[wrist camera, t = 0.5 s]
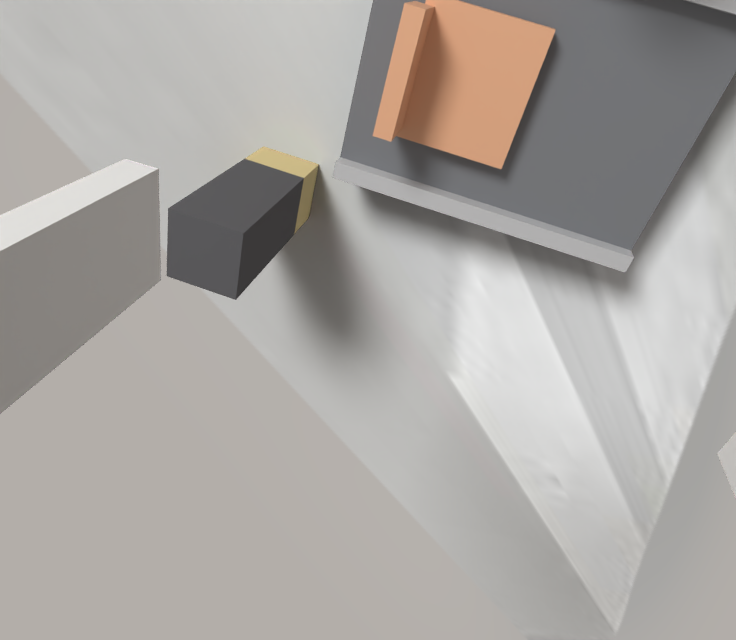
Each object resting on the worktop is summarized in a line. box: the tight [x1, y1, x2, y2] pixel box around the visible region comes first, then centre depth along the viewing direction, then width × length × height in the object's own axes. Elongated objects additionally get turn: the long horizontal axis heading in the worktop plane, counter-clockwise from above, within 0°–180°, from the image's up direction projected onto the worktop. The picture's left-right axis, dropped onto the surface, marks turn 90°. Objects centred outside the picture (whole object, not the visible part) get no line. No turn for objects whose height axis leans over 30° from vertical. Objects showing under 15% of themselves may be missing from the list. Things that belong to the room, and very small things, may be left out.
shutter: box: [373, 0, 556, 169], centre depth 27 cm, size 7×7×4 cm
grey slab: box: [332, 0, 736, 272], centre depth 30 cm, size 14×18×4 cm
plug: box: [167, 147, 319, 300], centre depth 33 cm, size 4×4×12 cm
